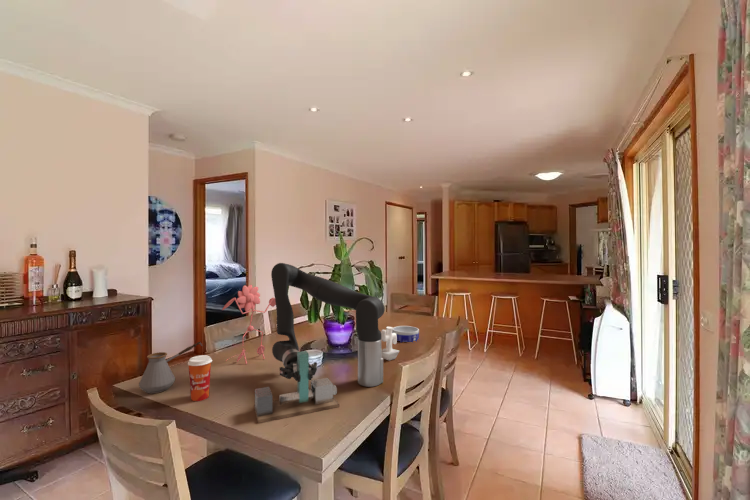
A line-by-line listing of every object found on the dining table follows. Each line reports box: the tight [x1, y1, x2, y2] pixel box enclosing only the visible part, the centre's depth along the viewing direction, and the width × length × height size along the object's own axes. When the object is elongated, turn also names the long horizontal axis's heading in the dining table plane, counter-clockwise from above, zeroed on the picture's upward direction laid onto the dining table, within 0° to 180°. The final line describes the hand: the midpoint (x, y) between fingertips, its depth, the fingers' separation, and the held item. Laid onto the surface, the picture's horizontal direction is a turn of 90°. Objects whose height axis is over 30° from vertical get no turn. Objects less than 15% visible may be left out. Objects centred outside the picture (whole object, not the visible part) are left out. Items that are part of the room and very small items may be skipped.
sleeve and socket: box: [254, 377, 334, 418], centre depth 116 cm, size 24×7×6 cm, turn 115°
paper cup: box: [187, 354, 213, 402], centre depth 123 cm, size 8×8×14 cm
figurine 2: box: [380, 326, 400, 361], centre depth 166 cm, size 7×9×15 cm
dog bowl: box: [392, 325, 420, 343], centre depth 199 cm, size 15×15×6 cm
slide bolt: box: [278, 350, 338, 405], centre depth 118 cm, size 19×3×16 cm, turn 115°
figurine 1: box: [221, 284, 276, 365], centre depth 164 cm, size 15×26×35 cm, turn 141°
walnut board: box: [253, 395, 340, 424], centre depth 116 cm, size 26×11×1 cm, turn 115°
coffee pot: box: [138, 341, 203, 394], centre depth 133 cm, size 21×12×15 cm, turn 133°
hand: (305, 378), depth 114 cm, fingers closed on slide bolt, 3 cm apart
